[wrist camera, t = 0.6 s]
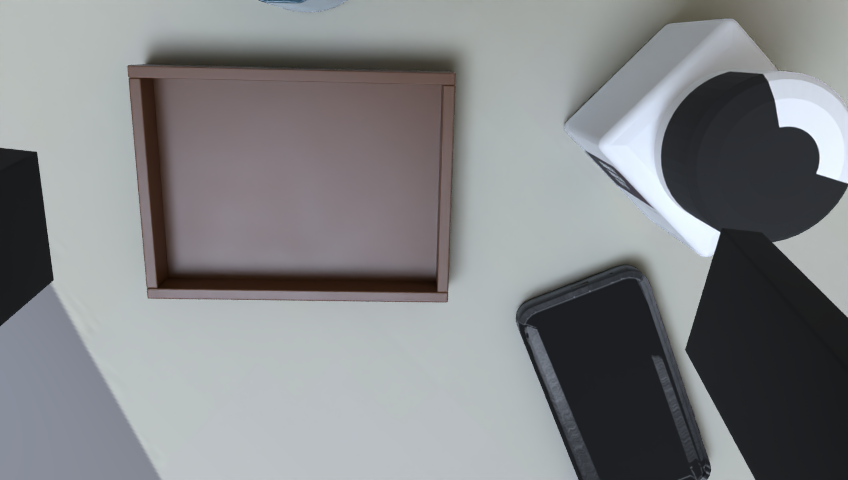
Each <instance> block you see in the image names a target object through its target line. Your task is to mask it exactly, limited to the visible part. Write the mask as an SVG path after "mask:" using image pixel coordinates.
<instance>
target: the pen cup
mask: <svg viewBox="0 0 848 480" xmlns="http://www.w3.org/2000/svg"><path fill="white" fill-rule="evenodd" d="M259 1H262V2H264V3H267V4H271V5H274V6H277V7H280V8H283V9H287V10H290V11H299V12H319V11H320V12H321V11H325V10H328V9H331V8H334V7H336V6H338V5H340V4H342V3H344V2H345V1H347V0H259Z"/></svg>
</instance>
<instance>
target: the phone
mask: <svg viewBox="0 0 848 480" xmlns="http://www.w3.org/2000/svg"><path fill="white" fill-rule="evenodd" d="M516 322H517V326H518V329H519V331H520V334H521V336H522V339H523V341H524V344H525V346H526V349H527V351H528V354H529V356H530V359H531V361H532V364H533V366H534V369H535V371H536V374H537V376H538V379H539V381H540V384H541V386H542V389H543V391H544V394H545V397H546V399H547V402H548V404H549V407H550V409H551V412H552V414H553V417H554V419H555V422H556V424H557V427H558V429H559V432H560V434H561V437H562V439H563V442H564V444H565V447H566V449H567V452H568V454H569V457H570V459H571V462H572V464H573V467H574V469H575V472H576V474H577V477H578V480H707V479H708V477H709V476H710V472H711V466H710V462H709V459H708V456H707V453H706V450H705V447H704V444H703V441H702V438H701V435H700V432H699V429H698V426H697V423H696V420H695V416H694V413H693V410H692V407H691V405H690V402H689V400H688V397H687V394H686V391H685V388H684V385H683V382H682V379H681V376H680V373H679V370H678V367H677V364H676V361H675V358H674V355H673V352H672V349H671V346H670V343H669V340H668V337H667V334H666V331H665V328H664V325H663V322H662V319H661V316H660V313H659V310H658V307H657V304H656V301H655V298H654V295H653V292H652V289H651V286H650V283H649V281H648V279H647V277H645V276H644V275H643V274H642V273H641V272H640V271H639V270H638V269H637V268H636V267H633V266H631V265H621V266H617V267H614V268H612V269H609V270H607V271H604V272H602V273H599V274H596V275H594V276H591V277H589V278H586V279H583V280H581V281H578V282H576V283H573V284H570V285H568V286H565V287H563V288H560V289H557V290H555V291H552V292H550V293H547V294H544V295H542V296H539V297H537V298H534V299H531V300H529V301H527V302H525V303H524V304H523V305H522V306H521V307H520V308H519V309H518V312H517V314H516Z"/></svg>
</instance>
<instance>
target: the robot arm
mask: <svg viewBox="0 0 848 480" xmlns="http://www.w3.org/2000/svg"><path fill="white" fill-rule="evenodd" d="M53 280H54V279H53V272H52V264H51V256H50V249H49V241H48V233H47V226H46V218H45V210H44V203H43V195H42V187H41V180H40V172H39V164H38V157H37V152H32V151H23V150H14V149H5V148H0V326H1V325H2V324H3V323H4V322H5V321H7V320H8V319H9V318H10V317H11V316H13V315H14V314H15V313H16V312H17V311H18V310H19V309H21V308H22V307H23V306H24V305H25V304H26V303H28V302H29V301H30V300H31V299H32V298H33V297H35V296H36V295H37V294H38V293H39V292H40V291H41V290H43V289H44V288H45V287H46V286H47V285H48V284H50V283H51V282H52V281H53ZM685 350H686V352H687V354H688V356H689V358H690V360H691V362H692V363H693V365H694V367H695V369H696V371H697V373H698V374H699V376H700V378H701V380H702V382H703V384H704V386H705V387H706V389H707V391H708V393H709V395H710V397H711V399H712V400H713V402H714V404H715V406H716V408H717V410H718V411H719V413H720V415H721V417H722V419H723V421H724V423H725V424H726V426H727V428H728V430H729V432H730V434H731V435H732V437H733V439H734V441H735V443H736V445H737V447H738V448H739V450H740V452H741V454H742V456H743V458H744V459H745V461H746V463H747V465H748V467H749V469H750V471H751V472H752V474H753V476H754V478H755V480H848V317H847V316H846V315H845V314H844V313H843V312H841V311H840V310H839V309H838V308H837V307H836V306H835V305H834V304H833V303H832V302H831V301H830V300H829V299H828V298H827V297H826V296H825V295H824V294H823V293H822V292H821V291H820V290H819V289H818V288H817V287H816V286H815V285H814V284H813V283H812V282H811V281H810V280H809V279H808V278H807V277H806V276H805V275H804V274H803V273H802V272H801V271H800V270H799V269H798V268H797V267H796V266H795V265H794V264H793V263H792V262H791V261H790V260H789V259H788V258H787V257H786V256H785V255H784V254H783V253H782V252H781V251H780V250H779V249H778V248H777V247H776V246H775V245H774V244H773V243H772V242H771V241H770V240H769V239H768V238H767V237H766V236H765V235H764V234H763V233H762V232H755V231H746V230H737V229H728V228H722V229H721V232H720V236H719V239H718V242H717V246H716V249H715V252H714V256H713V259H712V262H711V266H710V269H709V272H708V276H707V279H706V282H705V286H704V289H703V292H702V296H701V299H700V302H699V306H698V309H697V312H696V316H695V319H694V322H693V326H692V329H691V332H690V336H689V339H688V342H687V346H686V349H685Z"/></svg>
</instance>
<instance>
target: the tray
mask: <svg viewBox="0 0 848 480" xmlns="http://www.w3.org/2000/svg"><path fill="white" fill-rule="evenodd" d="M128 77H129V88H130V99H131V111H132V122H133V134H134V145H135V157H136V168H137V180H138V192H139V203H140V215H141V226H142V238H143V249H144V261H145V272H146V284H147V295H148V298H156V299H231V300H306V301H381V302H448V279H449V251H450V222H451V193H452V164H453V135H454V106H455V77H456V74H455V73H454V72H452V71H413V70H370V69H328V68H285V67H242V66H199V65H156V64H142V65H128Z"/></svg>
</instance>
